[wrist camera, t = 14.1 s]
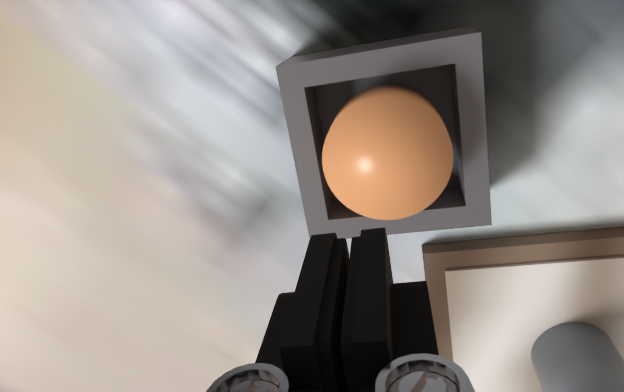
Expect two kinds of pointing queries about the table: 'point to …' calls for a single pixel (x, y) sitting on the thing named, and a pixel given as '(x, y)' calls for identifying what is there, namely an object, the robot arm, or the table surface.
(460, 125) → the button housing
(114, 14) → the table surface
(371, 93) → the button
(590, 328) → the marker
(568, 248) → the board
